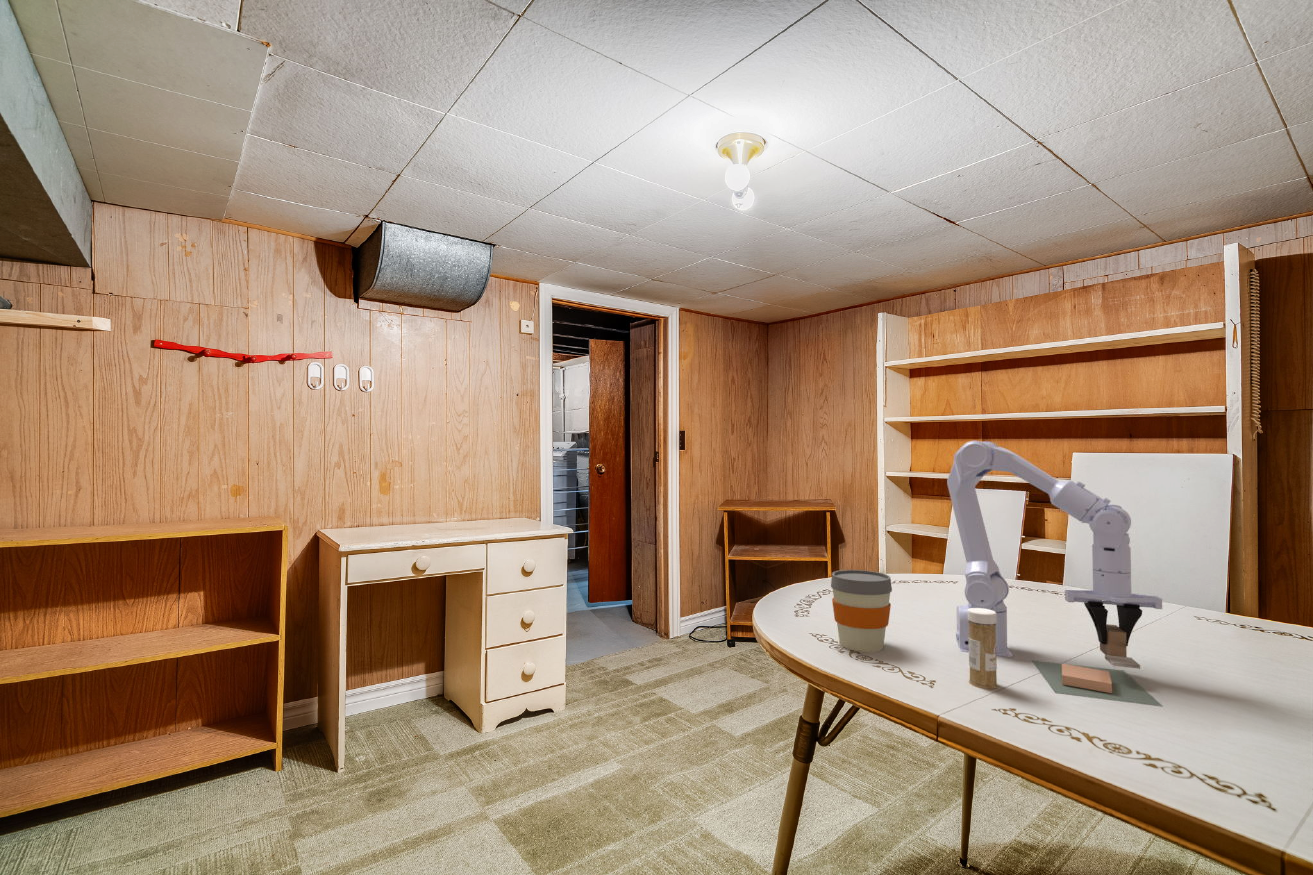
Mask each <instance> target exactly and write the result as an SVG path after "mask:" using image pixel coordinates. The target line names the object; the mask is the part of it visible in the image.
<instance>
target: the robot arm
mask: <svg viewBox="0 0 1313 875" xmlns="http://www.w3.org/2000/svg"><path fill="white" fill-rule="evenodd" d="M992 471H996V472H998V471H999V472H1006V473H1007V472H1008V473H1011V474H1013V475H1015V476H1016V477H1018V478H1020V479H1022V480H1024V481H1025V482H1026V483H1029V484H1030V485H1032V486H1034V487H1036V488H1037V489H1039V490H1040V491H1042V492H1044V493H1046V494H1048V497H1049V499H1050V500H1049V501H1050V503H1051V504H1052V506H1054V507H1055V508H1058V509H1059V510H1061V511H1063V512H1065V513H1066V514H1068V515H1069V516H1070V517H1072V518H1074V519H1076V520H1077V521H1079V522H1081V523H1082V524H1088V526H1089V528H1090V530H1091V531H1092V535H1093V539H1092V540H1093V544H1092V545H1091V548H1092V590H1089V589H1088V590H1083V589H1082V590H1078V589H1077V590H1074V589H1073V590H1072V589H1065V590H1064V600H1065V601H1066V602H1068V603H1083V604H1084V606H1085V608H1086V610H1087V612H1088V614H1089V616H1090V618H1091V620H1092V623H1093V624H1094V628H1095V631H1096V635H1097V640H1098V642H1099V644H1100V643H1102V644H1107V631H1106V624H1107V622H1108V620H1107V619H1108V613H1109V611H1108V609H1106V606H1105V605H1111V606H1112V605H1113V606H1116V612H1117V620H1118V627H1119V628H1120V629H1122V630H1123V631H1124V632H1126V647H1128V646H1129V641H1130V639H1131V638H1130V637H1131V634H1132V632H1133V630H1134V628H1135V626H1136V624H1137V623H1138V621H1139V620H1140V619H1141V618H1142V615H1143V609H1141V608H1148V609H1149V608H1151V609H1155V610H1163V598H1161V597H1159V596H1156V595H1145V594H1138V593H1132V558H1131V557H1132V556H1131V555H1132V551H1131V547H1130V544H1131V543H1130V542H1131V541H1130V540H1131V539H1130V536H1129V535H1130V533H1128V532H1129V530H1130V528H1131V526H1132V519H1131V516H1130V514H1129V513H1128V512H1127V511H1126V510H1125V509H1123V507H1122V506H1120V505H1117V504H1111V502H1112V501H1111V499H1108V498H1107V497H1104V498H1102V497H1100V496H1099V495H1097V494H1096V493H1094V492H1092V491H1090V490H1088V489H1086V484H1084V483H1083V482H1081V481H1077V482H1074V481H1073V480H1070V479H1069V480H1064V481H1063V480H1062V481H1061V480H1058V479H1056V478H1055V477H1053V476H1052V475H1050V474H1048V472H1045V471H1044V470H1042V469H1041V468H1039V467H1037V466H1036V465H1035V464H1033V463H1031V462H1030V461H1028V460H1026V459H1025V458H1023V457H1022V456H1020V455H1019V454H1017V453H1015V452H1013V451H1011V450H1010V449H1007V448H1004V447H1003V446H1001V447H1000V446H998V445H997V444H996V443H994V442H992V441H988V440H987V441H986V440H985V441H979V440H970V441H967V442H965V443H964V444H963V445H962V446H961V447H960V448H959V449H958V450H956V453H954V455H953V463H952V467H951V469H950V472H949V474H948V477H947V480H946V481H947V482H946V483H947V488H948V492H949V496H950V501H951V504H952V508H953V509H952V510H953V513H954V517H955V520H956V525H957V530H958V534H959V537H960V541H961V545H962V550H963V554H964V558H965V561H966V567H965V571H964V577H965V579H966V580H965V581H966V585H965V587H964V596H965V598H966V600H967V605H957V606H956V632H955V639H956V643H957V646H958V648H959V651H960V652H964V653H969V622H968V621H969V620H968V609H970V608H984V609H989V610H993V611H995V612H996V614H997V623H996V626H995V627H996V656H999V657H1009V658H1012V657H1013V656H1014V655H1013V653H1012V652H1011V650H1010V649H1009V647H1008V607H1007V606H1006V604H1005V602H1004V601H1005V599H1006V598H1007V597H1008V595H1009V593H1010V592H1009V591H1010V589H1009V583H1007V580H1006V579H1005V578H1004V577H1003V576H1002V574H1001V572H1000V568H999V566H998V564H997V563H996V561H995V560H994V558H993V554H992V549H991V546H990V542H989V537H988V534H987V529H986V526H985V522H984V518H983V515H982V510H981V506H980V504H979V503H980V502H979V500H978V495H977V491H976V486H977V485H978V484H979V482H980V481H981V480H982V479H983V477H984V476H985V475H987V474H988V473H990V472H992Z"/></svg>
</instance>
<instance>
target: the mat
mask: <svg viewBox="0 0 1313 875" xmlns="http://www.w3.org/2000/svg"><path fill="white" fill-rule="evenodd" d="M1031 662H1032V663H1033V664H1034V666H1035V667H1036V669H1037V670H1038V672H1039V673H1040V674H1041V676H1042V677H1043V678H1044V680H1045V681H1046V683H1047V684H1048V686H1050V688H1051V690H1052V691H1053V692H1054V693H1055V694H1060V695H1065V696H1067V695H1068V696H1076V697H1084V698H1089V699H1090V698H1091V699H1100V700H1108V701H1116V702H1124V703H1129V704H1130V703H1132V704H1140V705H1146V706H1147V705H1148V706H1155V707H1161V708H1162V707H1164V705H1162V704H1161V702H1159V701H1158V700H1157V699H1156V698H1155V697H1153V696H1152V694H1150V693H1149V691H1147V690H1146V689H1145V688H1144V687H1143V686H1141V685H1140V684H1139V683H1138V682H1137V681H1136V680H1135V679H1134V678H1132V677H1131V676H1130V675H1129V674H1128V673H1127V672H1126V671H1124V670H1122V669H1112V668H1105V667H1103V668H1102V667H1094V666H1085V665H1077V664H1073V665H1074V666H1080V667H1086V668H1092V669H1098V670H1104V671H1109V674H1110V678H1111V683H1112V693H1107V692H1102V691H1096V690H1091V689H1086V688H1080V687H1075V686H1069V685H1064V684H1062V664H1063V663H1060V662H1059V663H1058V662H1049V661H1042V660H1039V661H1038V660H1031ZM1068 665H1070V664H1068Z"/></svg>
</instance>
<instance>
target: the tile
mask: <svg viewBox="0 0 1313 875" xmlns="http://www.w3.org/2000/svg"><path fill="white" fill-rule="evenodd" d="M1061 664H1062V684H1064V685H1069V686H1075V687H1080V688H1086V689H1091V690H1096V691H1102V692H1107V693H1112V683H1111V678H1110V674H1109V671H1104V670H1098V669H1092V668H1086V667H1080V666H1081V665H1078V666H1074V665H1075V664H1069V665H1068V664H1067V663H1061Z"/></svg>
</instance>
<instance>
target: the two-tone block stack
mask: <svg viewBox="0 0 1313 875" xmlns="http://www.w3.org/2000/svg"><path fill="white" fill-rule="evenodd" d="M1106 631H1107V644H1102V643H1100V642H1099V650H1100V652H1101V653H1102V654H1104V659H1105V660H1106V661H1107V662H1108V663H1109V664H1110V665H1112V667H1120V668H1127V669H1129V668H1130V669H1138V670H1141V664H1140V663H1138V662H1137V661H1136V660H1135V659H1134V658H1133V657H1129V656H1128V657H1127V653H1128V652H1127V646H1126V632H1124V631H1123V630H1122V629H1120V628H1119V625H1116V624H1109V623H1108V624H1106Z"/></svg>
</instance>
